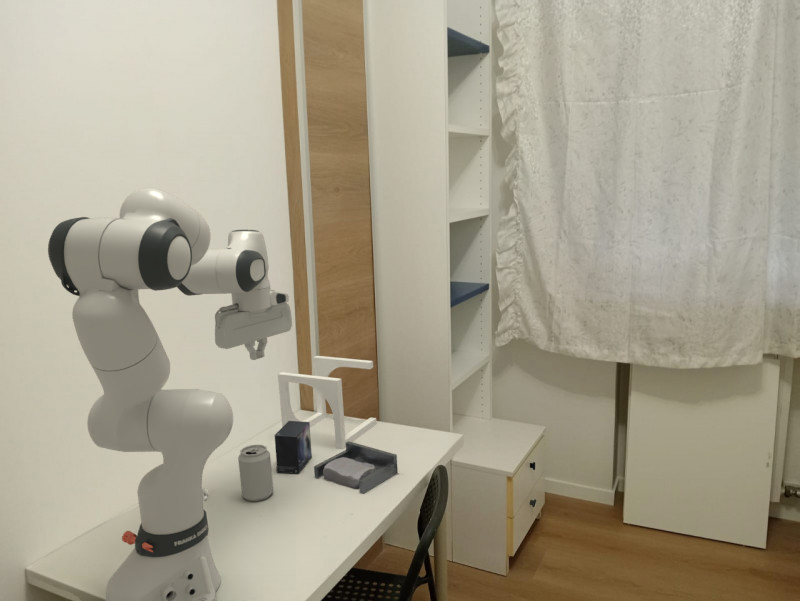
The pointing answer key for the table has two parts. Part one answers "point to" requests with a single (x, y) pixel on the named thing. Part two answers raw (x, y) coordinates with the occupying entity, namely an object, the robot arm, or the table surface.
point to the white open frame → (325, 396)
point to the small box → (293, 447)
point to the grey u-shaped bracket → (365, 454)
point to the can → (255, 472)
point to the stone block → (347, 471)
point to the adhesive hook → (204, 494)
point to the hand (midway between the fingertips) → (257, 358)
